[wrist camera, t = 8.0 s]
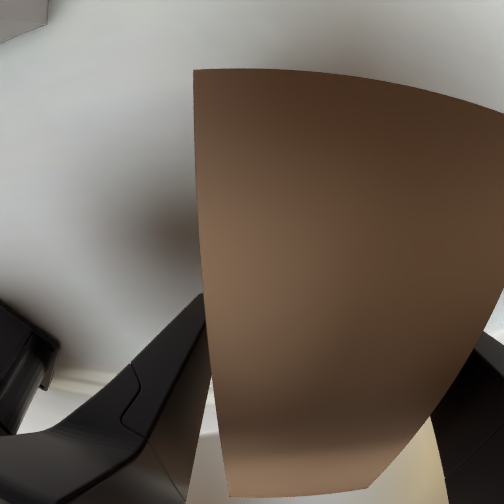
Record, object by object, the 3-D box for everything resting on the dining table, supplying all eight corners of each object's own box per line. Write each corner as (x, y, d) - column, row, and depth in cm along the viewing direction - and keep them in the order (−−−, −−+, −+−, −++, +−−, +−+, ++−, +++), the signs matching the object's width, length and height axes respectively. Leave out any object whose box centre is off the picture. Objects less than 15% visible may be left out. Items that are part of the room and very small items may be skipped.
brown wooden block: (335, 343, 16) (366, 488, 9) (237, 344, 16) (229, 496, 9) (377, 91, 10) (547, 132, 3) (236, 80, 10) (193, 69, 3)
